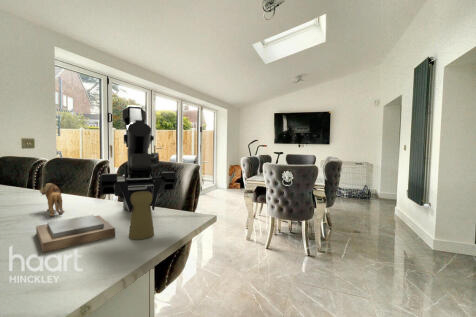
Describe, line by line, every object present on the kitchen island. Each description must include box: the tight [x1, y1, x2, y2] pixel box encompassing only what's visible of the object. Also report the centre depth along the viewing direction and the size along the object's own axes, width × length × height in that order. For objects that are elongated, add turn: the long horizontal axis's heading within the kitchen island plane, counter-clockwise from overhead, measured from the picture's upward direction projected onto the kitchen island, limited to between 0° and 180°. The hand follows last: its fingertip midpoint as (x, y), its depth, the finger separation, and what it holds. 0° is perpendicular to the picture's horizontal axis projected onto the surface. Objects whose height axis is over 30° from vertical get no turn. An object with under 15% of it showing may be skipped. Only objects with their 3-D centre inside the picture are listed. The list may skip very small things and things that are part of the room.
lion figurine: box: [39, 182, 65, 217], centre depth 79 cm, size 15×5×9 cm, turn 52°
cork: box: [128, 191, 155, 240], centre depth 60 cm, size 6×6×11 cm
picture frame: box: [35, 214, 116, 253], centre depth 60 cm, size 14×14×3 cm
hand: (142, 210), depth 59 cm, fingers closed on cork, 5 cm apart
